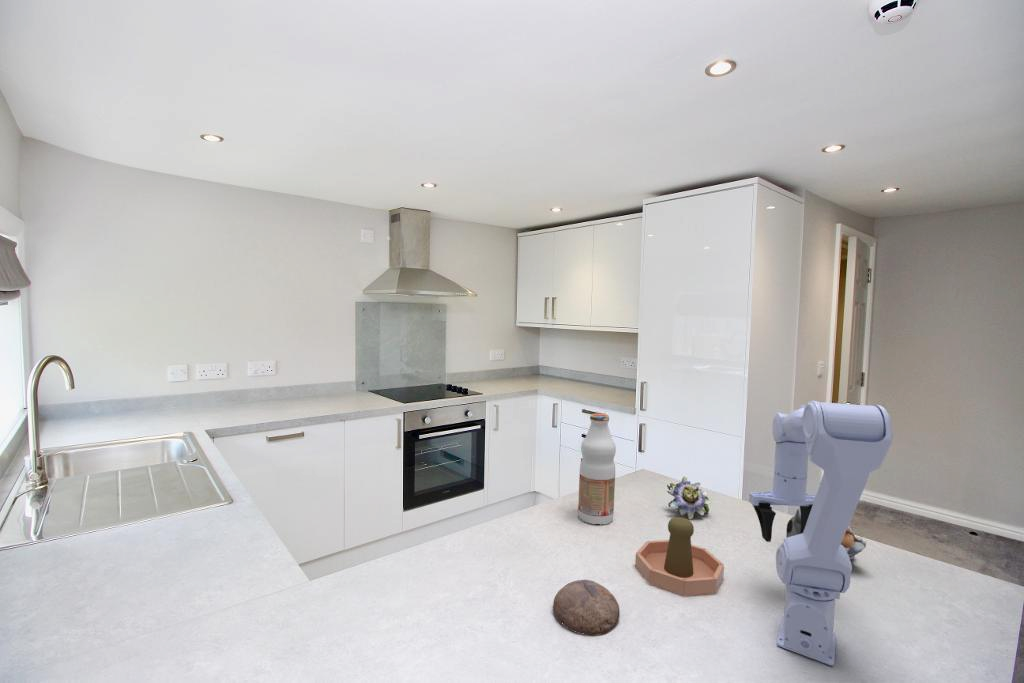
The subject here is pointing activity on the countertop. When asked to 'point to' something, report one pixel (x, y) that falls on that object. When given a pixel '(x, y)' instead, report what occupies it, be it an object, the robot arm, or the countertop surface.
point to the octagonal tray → (653, 571)
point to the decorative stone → (586, 607)
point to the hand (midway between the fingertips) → (785, 540)
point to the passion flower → (688, 498)
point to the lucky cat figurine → (849, 542)
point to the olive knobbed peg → (679, 548)
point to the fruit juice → (597, 473)
